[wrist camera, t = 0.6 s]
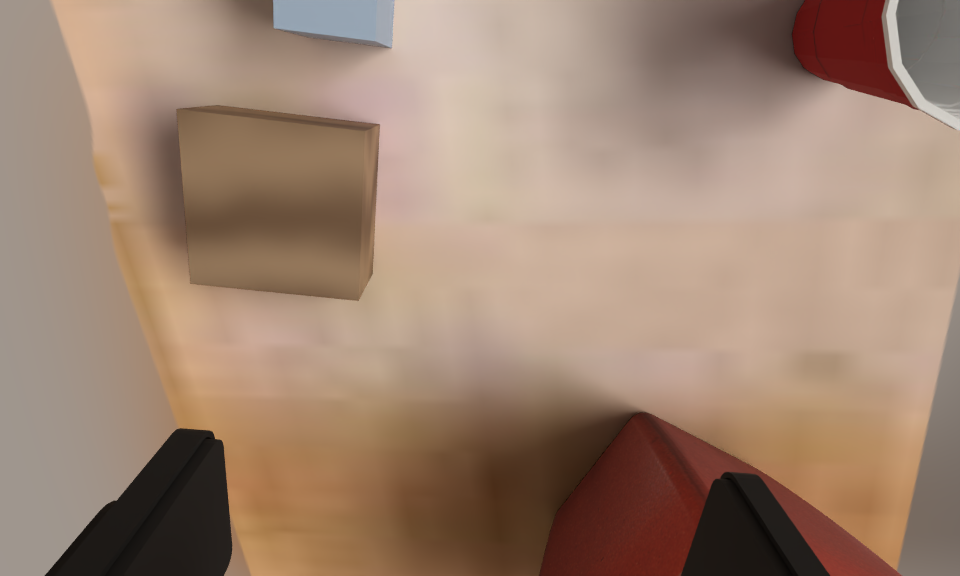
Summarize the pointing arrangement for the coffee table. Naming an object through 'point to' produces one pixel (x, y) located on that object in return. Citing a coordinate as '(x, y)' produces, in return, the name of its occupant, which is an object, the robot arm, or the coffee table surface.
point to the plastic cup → (886, 50)
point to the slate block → (337, 20)
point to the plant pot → (671, 510)
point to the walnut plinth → (278, 200)
